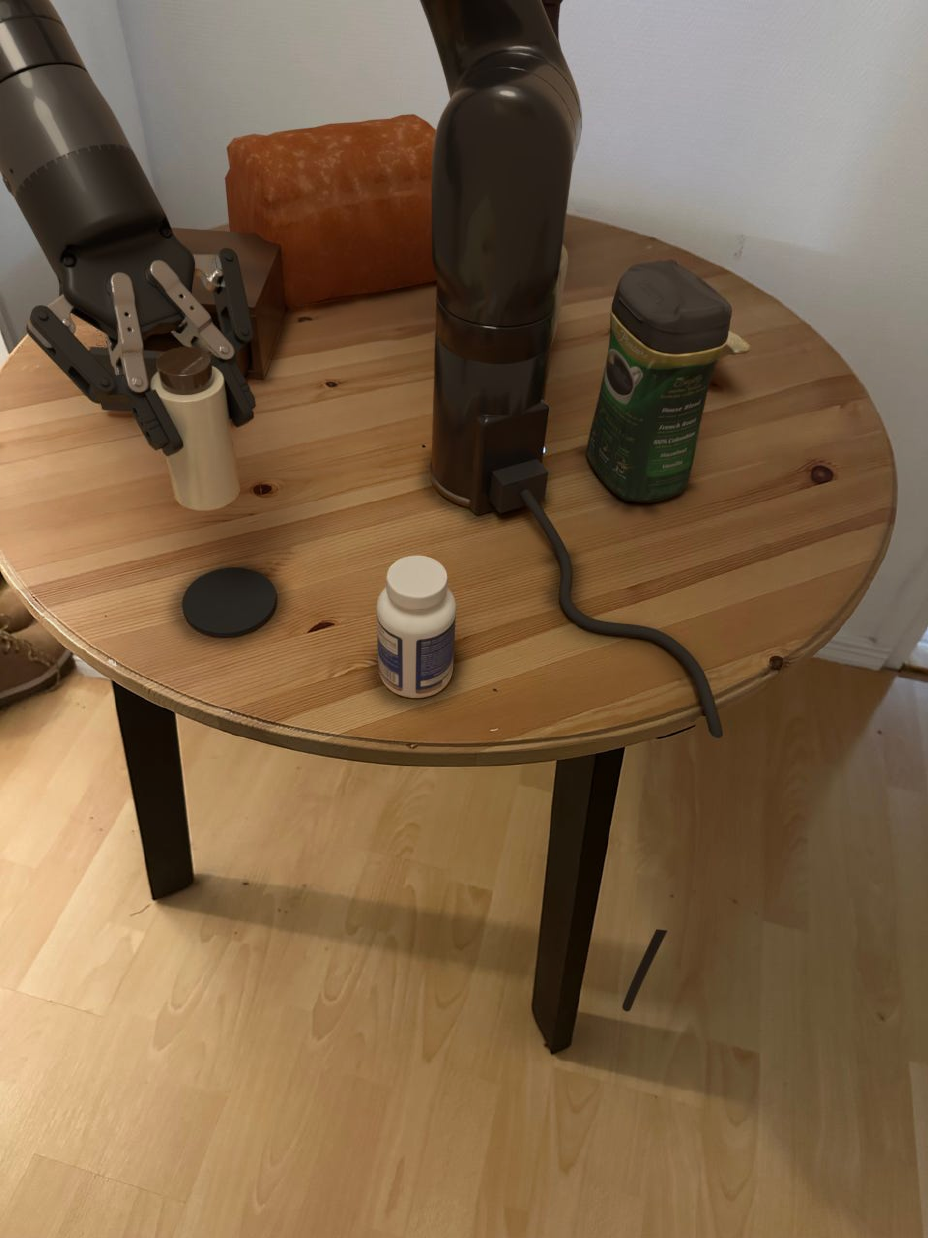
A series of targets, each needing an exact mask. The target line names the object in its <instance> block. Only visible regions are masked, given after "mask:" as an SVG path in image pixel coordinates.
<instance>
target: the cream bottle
mask: <svg viewBox="0 0 928 1238" xmlns="http://www.w3.org/2000/svg"><path fill="white" fill-rule="evenodd" d="M156 364H157V370H158V372H157V373H156V374H155V375H154V376H153V378H152V380H151V384H150V385H151V391H152V390H154V389H156V391H157V393H158V395H159V397H160V399H161V401H162V403H163V405H164V407H165V408H166V410H167V412H168V414H169V416H170V418H171V420H172V422H173V424H174V425H175V427H176V429H177V431H178V433H179V435H180V437H181V439H182V441H183V445H184V447H183V448H182V449H181V450H180V451H179V452H177V453H175V454H173V455H170V456H166V455H165V454H164V456H165V460H166V465H167V470H168V474H169V479H170V483H171V488H172V492H173V497H174V498H175V500H176V501H177V502H178V503H179V504H180V505H181V506H182V507H184V508H186V509H190V510H193V511H199V512H205V511H206V512H207V511H214V510H218V509H221V508H224V507H226V506H228V505H229V504H231V503H233V501H235V499H237V497H238V496H239V493H240V491H241V483H240V476H239V470H238V462H237V456H236V450H235V441H234V436H233V430H232V423H231V422H232V421H231V419H230V415H229V409H228V402H227V395H226V389H225V382H224V377H223V374H222V373H221V372H220V371H219V370H218V369H217V368H216V367H214V366H212V363H211V358H210V356H209V355H208V353H206V352H205V351H203V350H201V349H198V348H193V347H179V348H174V349H171V350H168V351H166V352H164V353H163V354H162V355H160V356H159V358H158V359H157V363H156Z"/></svg>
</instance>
